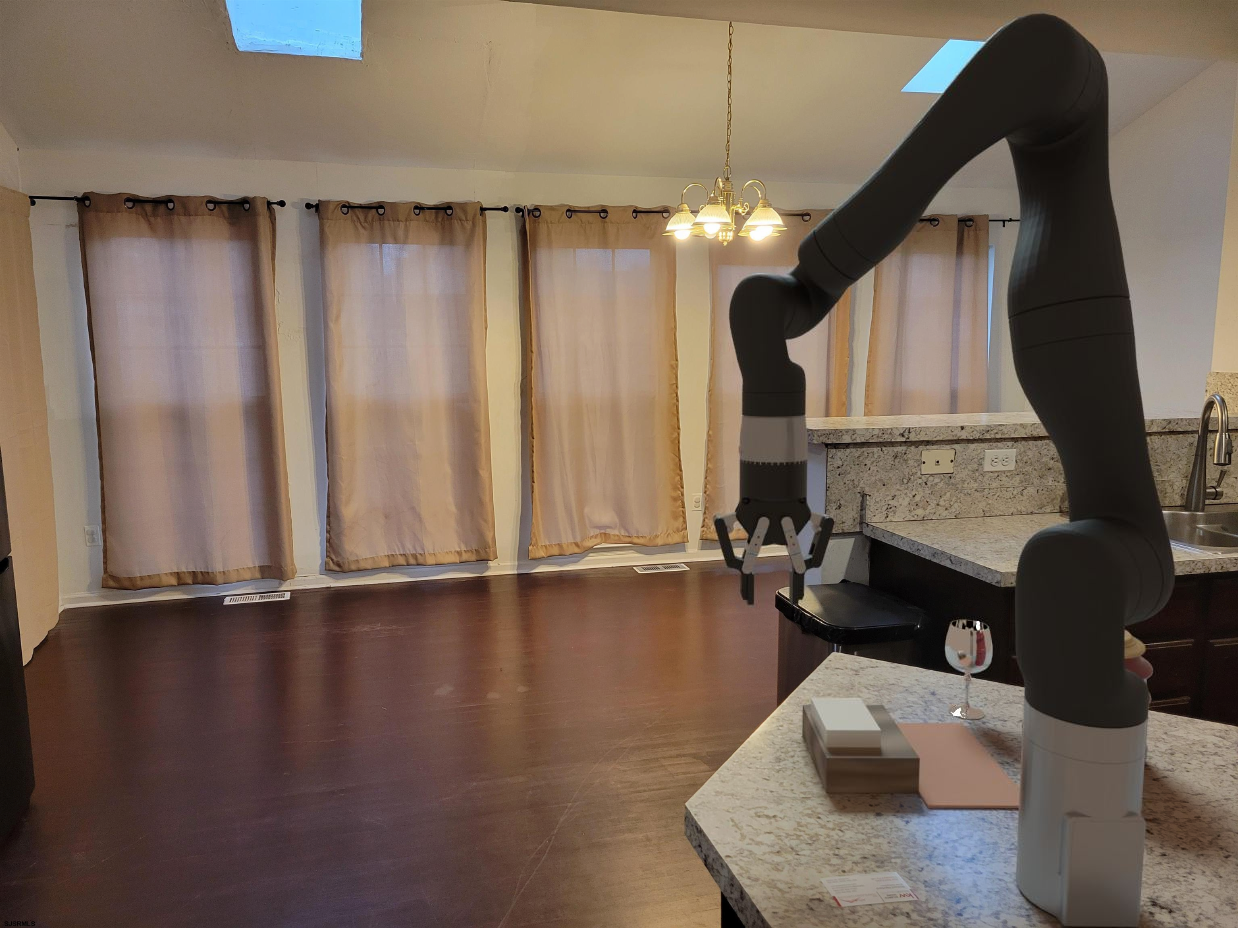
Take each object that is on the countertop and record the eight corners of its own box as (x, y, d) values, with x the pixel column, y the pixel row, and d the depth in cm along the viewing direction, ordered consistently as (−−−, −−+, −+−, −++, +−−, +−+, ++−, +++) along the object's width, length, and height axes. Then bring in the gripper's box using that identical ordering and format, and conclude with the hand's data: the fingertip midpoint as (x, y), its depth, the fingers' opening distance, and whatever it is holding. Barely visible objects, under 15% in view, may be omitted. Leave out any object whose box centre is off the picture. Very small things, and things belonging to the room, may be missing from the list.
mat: (1034, 808, 87) (1034, 805, 86) (928, 807, 87) (928, 804, 87) (962, 725, 106) (962, 722, 106) (875, 724, 107) (876, 722, 107)
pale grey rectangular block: (880, 747, 92) (881, 730, 92) (826, 747, 92) (826, 730, 92) (860, 713, 101) (860, 697, 101) (810, 713, 101) (810, 697, 101)
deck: (918, 792, 90) (919, 758, 89) (826, 792, 90) (826, 757, 90) (882, 735, 104) (883, 704, 103) (802, 735, 104) (802, 704, 104)
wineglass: (997, 721, 107) (1001, 632, 106) (952, 721, 107) (955, 632, 106) (979, 703, 113) (982, 618, 112) (936, 703, 113) (939, 618, 112)
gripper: (712, 460, 90) (712, 613, 92) (845, 458, 89) (842, 612, 91) (707, 452, 97) (707, 594, 99) (829, 451, 96) (827, 594, 99)
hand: (772, 602), depth 95 cm, fingers open, 4 cm apart
